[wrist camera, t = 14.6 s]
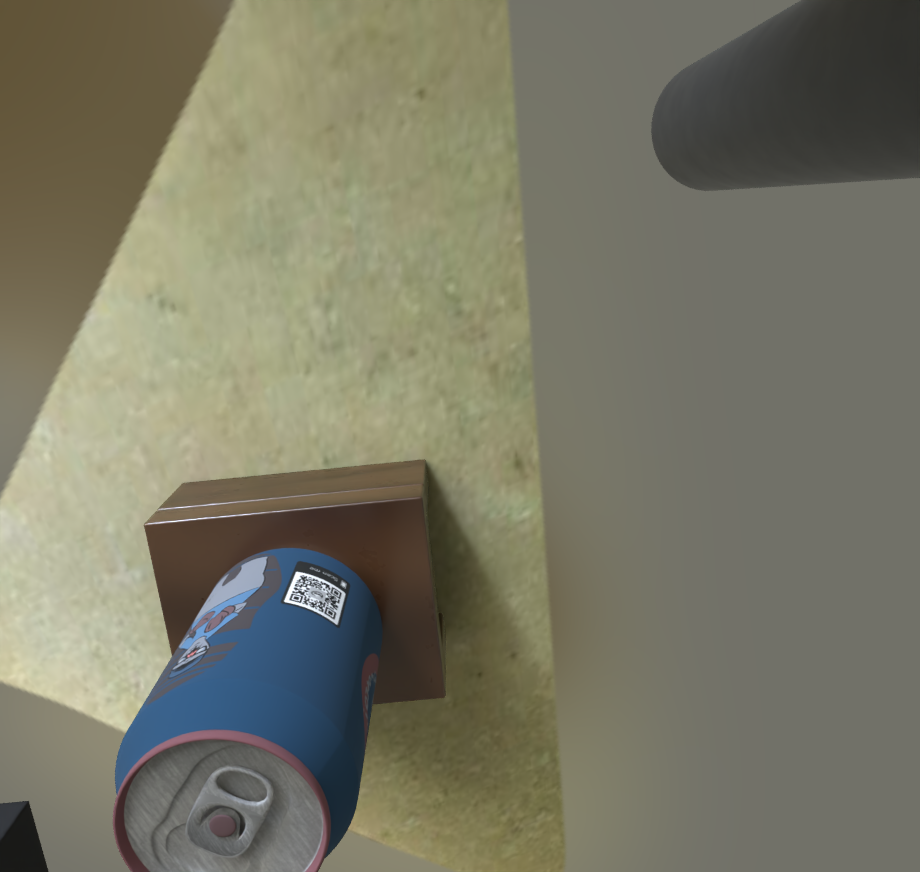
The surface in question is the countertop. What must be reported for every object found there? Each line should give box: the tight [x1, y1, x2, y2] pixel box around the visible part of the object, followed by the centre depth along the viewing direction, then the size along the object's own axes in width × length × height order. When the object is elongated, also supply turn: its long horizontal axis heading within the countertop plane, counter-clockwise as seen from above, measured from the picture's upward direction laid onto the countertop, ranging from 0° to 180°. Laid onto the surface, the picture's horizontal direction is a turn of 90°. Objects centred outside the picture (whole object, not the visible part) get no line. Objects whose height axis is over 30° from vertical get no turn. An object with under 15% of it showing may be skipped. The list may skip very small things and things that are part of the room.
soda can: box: [113, 548, 383, 872], centre depth 28 cm, size 7×7×12 cm
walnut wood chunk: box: [144, 460, 446, 704], centre depth 36 cm, size 9×11×5 cm
